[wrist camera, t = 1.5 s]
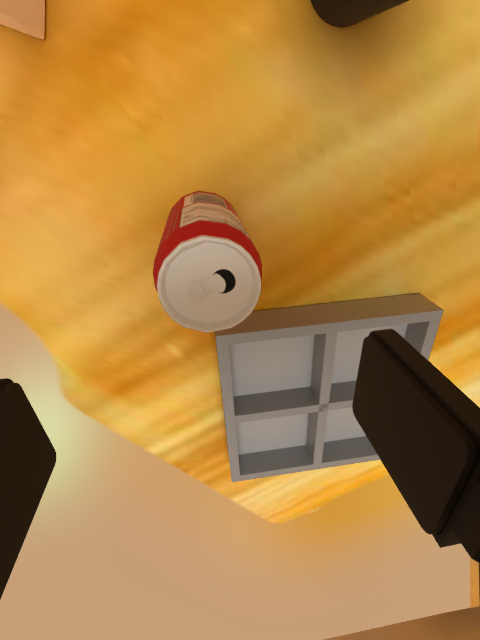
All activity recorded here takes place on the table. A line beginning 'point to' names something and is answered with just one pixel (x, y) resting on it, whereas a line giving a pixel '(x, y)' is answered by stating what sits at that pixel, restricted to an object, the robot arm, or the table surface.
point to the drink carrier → (306, 381)
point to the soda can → (206, 265)
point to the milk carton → (24, 16)
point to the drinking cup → (351, 10)
